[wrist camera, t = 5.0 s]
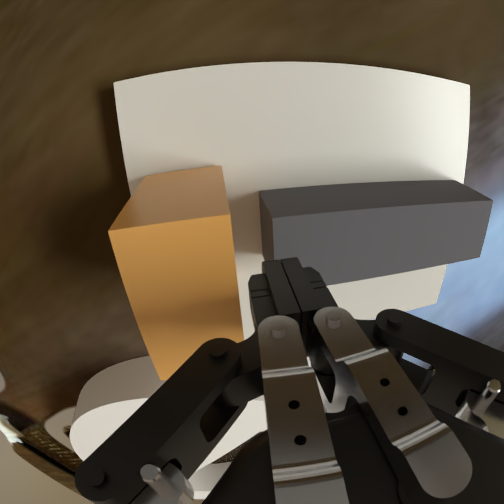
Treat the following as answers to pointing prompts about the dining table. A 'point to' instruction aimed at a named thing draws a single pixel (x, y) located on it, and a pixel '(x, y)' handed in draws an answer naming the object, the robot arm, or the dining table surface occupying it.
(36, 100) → the dining table surface
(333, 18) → the dining table surface
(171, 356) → the orange arch block
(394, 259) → the long grey rectangular bar
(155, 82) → the mat
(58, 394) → the dining table surface
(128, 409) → the ring with crossbar
